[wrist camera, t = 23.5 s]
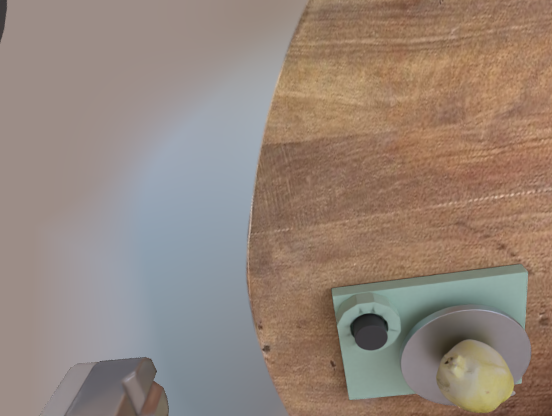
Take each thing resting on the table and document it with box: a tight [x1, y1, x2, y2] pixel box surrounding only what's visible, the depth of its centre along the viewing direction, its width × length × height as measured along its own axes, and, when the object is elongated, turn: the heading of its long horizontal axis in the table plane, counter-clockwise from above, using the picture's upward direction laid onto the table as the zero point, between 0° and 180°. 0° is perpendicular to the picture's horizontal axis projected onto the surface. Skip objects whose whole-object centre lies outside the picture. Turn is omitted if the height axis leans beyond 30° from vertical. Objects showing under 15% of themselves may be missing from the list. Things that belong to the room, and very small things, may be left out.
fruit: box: [436, 339, 515, 413], centre depth 38 cm, size 6×6×10 cm
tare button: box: [353, 314, 388, 351], centre depth 40 cm, size 3×3×2 cm
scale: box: [331, 264, 528, 400], centre depth 43 cm, size 18×14×3 cm
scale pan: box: [399, 304, 531, 406], centre depth 41 cm, size 12×12×1 cm
